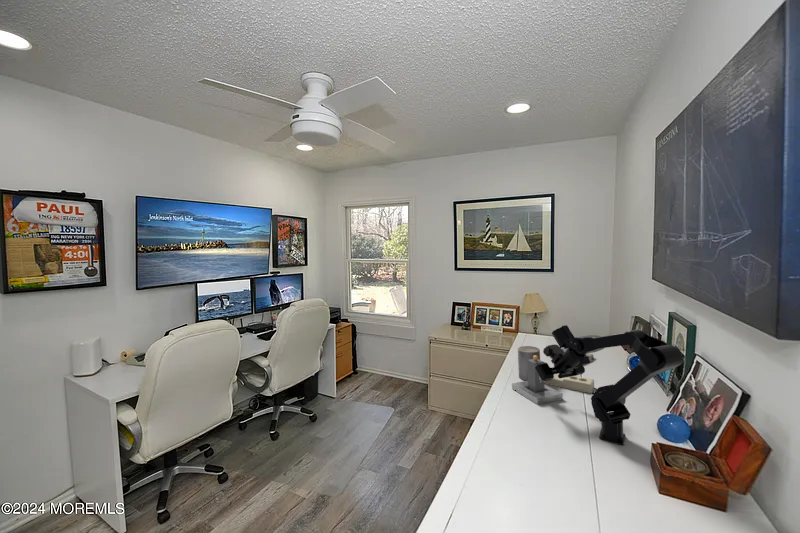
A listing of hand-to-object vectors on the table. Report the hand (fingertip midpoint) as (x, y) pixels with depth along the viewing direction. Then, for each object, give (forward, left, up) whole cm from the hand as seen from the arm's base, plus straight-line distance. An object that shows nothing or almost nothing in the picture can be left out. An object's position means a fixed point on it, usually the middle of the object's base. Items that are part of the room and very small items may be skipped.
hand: (549, 378), depth 130 cm
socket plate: (+4, +6, -9) cm, 12 cm away
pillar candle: (+20, +14, -9) cm, 26 cm away
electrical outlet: (+21, -3, -10) cm, 23 cm away
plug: (+4, +6, -8) cm, 11 cm away
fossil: (+60, +3, -10) cm, 61 cm away
